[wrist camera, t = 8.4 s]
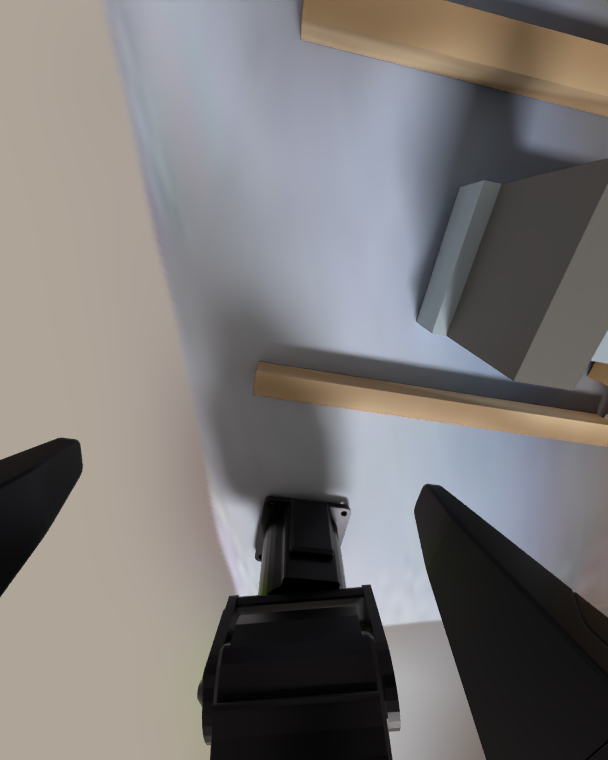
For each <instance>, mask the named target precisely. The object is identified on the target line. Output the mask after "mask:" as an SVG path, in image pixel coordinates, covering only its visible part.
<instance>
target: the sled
mask: <svg viewBox="0 0 608 760" xmlns="http://www.w3.org/2000/svg"><path fill="white" fill-rule="evenodd" d="M417 323H419V324H420V325H421V326H423V327H424V328H425V329H427V330H428V331H430V332H431V333H433V334H439V335H445V336H448V337H449V338H451V339H452V340H453V341H455V342H456V343H458V344H459V345H461V346H462V347H464V348H465V349H467V350H468V351H470V352H471V353H473V354H474V355H476V356H477V357H479V358H480V359H482V360H483V361H485V362H486V363H488V364H489V365H491V366H492V367H494V368H495V369H497V370H498V371H500V372H501V373H503V374H504V375H505V376H507V377H508V378H510V379H511V380H513V381H516V382H523V383H529V384H535V385H541V386H547V387H553V388H559V389H566V390H572V391H574V389H575V388H576V386H577V384H578V382H579V380H580V379H581V377H582V375H583V373H584V372H585V370H586V368H587V366H588V364H589V363H590V361H595V363H594V365H593V367H592V369H591V371H590V372H589V374H588V377H590V378H593V379H595V380H597V381H599V382H601V383H603V384H605V385H607V386H608V158H607V159H603V160H599V161H595V162H591V163H586V164H582V165H578V166H574V167H570V168H566V169H561V170H557V171H553V172H549V173H545V174H541V175H536V176H532V177H528V178H524V179H520V180H516V181H511V182H507V183H503V184H500V183H496V182H491V181H487V180H483V181H480V182H476V183H472V184H469V185H465V186H462V187H459V191H458V194H457V197H456V200H455V203H454V206H453V209H452V212H451V216H450V219H449V222H448V225H447V228H446V231H445V234H444V237H443V241H442V244H441V247H440V250H439V253H438V256H437V259H436V262H435V266H434V269H433V272H432V275H431V278H430V281H429V284H428V287H427V291H426V294H425V297H424V300H423V303H422V306H421V309H420V312H419V316H418V319H417Z"/></svg>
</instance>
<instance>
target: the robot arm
mask: <svg viewBox="0 0 608 760" xmlns="http://www.w3.org/2000/svg"><path fill="white" fill-rule="evenodd" d="M82 469H83V463H82V455H81V446H80V443H79V441H78V440H76V439H68V438H57V439H55V440H52V441H49V442H47V443H44V444H41V445H39V446H36V447H34V448H31V449H28V450H25V451H23V452H20V453H18V454H15V455H12V456H10V457H7V458H4V459H2V460H0V597H1V595H2V594H3V593H4V591H5V590H6V589H7V587H8V586H9V584H10V583H11V582H12V580H13V579H14V578H15V576H16V575H17V573H18V572H19V571H20V569H21V568H22V566H23V565H24V564H25V562H26V561H27V560H28V558H29V557H30V556H31V554H32V553H33V551H34V550H35V549H36V547H37V546H38V544H39V543H40V542H41V540H42V539H43V537H44V536H45V535H46V533H47V531H48V530H49V528H50V527H51V525H52V523H53V522H54V520H55V518H56V517H57V515H58V513H59V512H60V510H61V508H62V506H63V505H64V503H65V501H66V499H67V498H68V496H69V494H70V492H71V491H72V489H73V488H74V486H75V484H76V482H77V481H78V479H79V477H80V475H81V473H82ZM269 503H273V504H269ZM343 511H345V512H343ZM414 514H415V520H416V524H417V529H418V534H419V539H420V543H421V548H422V553H423V557H424V562H425V566H426V570H427V574H428V577H429V581H430V584H431V587H432V590H433V593H434V596H435V600H436V603H437V606H438V609H439V612H440V615H441V618H442V622H443V625H444V628H445V631H446V634H447V637H448V640H449V643H450V646H451V650H452V653H453V656H454V659H455V662H456V665H457V669H458V672H459V675H460V678H461V681H462V684H463V688H464V691H465V694H466V697H467V700H468V703H469V707H470V710H471V713H472V716H473V719H474V722H475V725H476V729H477V732H478V735H479V738H480V741H481V744H482V748H483V750H484V754H485V757H486V760H608V617H607V616H605V615H604V614H603V613H601V612H600V611H599V610H597V609H596V608H595V607H594V606H592V605H591V604H590V603H589V602H587V601H586V600H585V599H584V598H582V597H581V596H580V595H579V594H577V593H575V592H573V591H572V589H571V588H570V587H568V586H567V585H566V584H564V583H563V582H562V581H561V580H559V579H558V578H557V577H556V576H554V575H553V574H552V573H551V572H549V571H548V570H547V569H545V568H544V567H543V566H542V565H540V564H539V563H538V562H537V561H535V560H534V559H533V558H532V557H530V556H529V555H528V554H526V553H525V552H524V551H523V550H521V549H520V548H519V547H518V546H516V545H515V544H514V543H513V542H511V541H510V540H509V539H507V538H506V537H505V536H504V535H502V534H501V533H500V532H499V531H497V530H496V529H495V528H494V527H492V526H491V525H490V524H489V523H487V522H486V521H485V520H483V519H482V518H481V517H480V516H478V515H477V514H476V513H475V512H473V511H472V510H471V509H470V508H468V507H467V506H466V505H464V504H463V503H462V502H461V501H459V500H458V499H457V498H456V497H454V496H453V495H452V494H451V493H449V492H448V491H447V490H445V489H444V488H443V487H442V486H439V485H433V484H425V485H424V486H423V488H422V490H421V493H420V495H419V497H418V500H417V502H416V505H415V509H414ZM350 515H351V512H350V508H349V506H347V505H344V504H335V503H327V502H318V501H310V500H301V499H293V498H284V497H276V496H268V497H266V498H265V500H264V505H263V511H262V517H261V523H260V529H259V535H258V541H257V547H256V553H255V559H256V560H258V561H261V572H260V582H259V592H258V595H255V596H243V597H239V595H235V596H229V599H228V602H227V605H226V608H225V609H224V611H223V614H222V616H221V620H220V623H219V626H218V629H217V632H216V635H215V638H214V641H213V645H212V648H211V651H210V654H209V657H208V660H207V663H206V667H205V669H204V674H203V678H202V680H201V682H200V684H199V687H198V694H197V695H198V696H197V698H198V700H199V702H200V704H201V705H202V729H203V737H204V740H205V743H206V744H207V745H211V754H210V760H392V754H391V746H390V739H389V731H400V710H399V702H398V694H397V687H396V682H395V675H394V670H393V665H392V661H391V656H390V651H389V648H388V644H387V640H386V637H385V633H384V630H383V626H382V623H381V619H380V616H379V612H378V609H377V605H376V602H375V598H374V595H373V591H372V588H371V585H362V587H355V588H346V583H345V576H344V569H343V562H342V555H341V548H340V546H341V543H342V540H343V537H344V534H345V530H346V527H347V524H348V521H349V518H350Z"/></svg>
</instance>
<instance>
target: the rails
mask: <svg viewBox="0 0 608 760" xmlns="http://www.w3.org/2000/svg"><path fill="white" fill-rule="evenodd" d="M301 40H305V41H309V42H312V43H316V44H320V45H324V46H328V47H332V48H336V49H340V50H344V51H348V52H352V53H356V54H360V55H364V56H368V57H372V58H376V59H380V60H384V61H388V62H392V63H396V64H400V65H404V66H408V67H412V68H415V69H419V70H423V71H427V72H431V73H435V74H439V75H443V76H447V77H451V78H455V79H459V80H463V81H467V82H471V83H475V84H479V85H483V86H487V87H491V88H495V89H499V90H503V91H507V92H511V93H515V94H518V95H522V96H526V97H530V98H534V99H538V100H542V101H546V102H550V103H554V104H558V105H562V106H566V107H570V108H574V109H578V110H582V111H586V112H590V113H594V114H598V115H602V116H606V117H608V45H605V44H602V43H598V42H594V41H591V40H587V39H583V38H580V37H576V36H573V35H569V34H565V33H562V32H558V31H554V30H551V29H547V28H543V27H540V26H536V25H533V24H529V23H525V22H522V21H518V20H514V19H511V18H507V17H504V16H500V15H496V14H493V13H489V12H485V11H482V10H478V9H475V8H471V7H467V6H464V5H460V4H456V3H453V2H449V1H446V0H304V4H303V11H302V24H301ZM253 395H257V396H264V397H271V398H277V399H284V400H291V401H298V402H305V403H312V404H318V405H325V406H332V407H339V408H346V409H353V410H360V411H366V412H373V413H380V414H387V415H394V416H401V417H407V418H414V419H421V420H428V421H435V422H442V423H448V424H455V425H462V426H469V427H476V428H483V429H490V430H496V431H503V432H510V433H517V434H524V435H531V436H537V437H544V438H551V439H558V440H565V441H572V442H579V443H585V444H592V445H599V446H607V444H608V420H606V419H604V418H603V417H601V416H599V415H598V414H592V413H586V412H579V411H573V410H566V409H560V408H554V407H547V406H541V405H534V404H528V403H522V402H515V401H509V400H502V399H496V398H489V397H483V396H477V395H470V394H464V393H457V392H451V391H445V390H438V389H432V388H425V387H419V386H413V385H406V384H400V383H393V382H387V381H381V380H374V379H368V378H361V377H355V376H348V375H342V374H336V373H329V372H323V371H316V370H310V369H304V368H297V367H291V366H284V365H278V364H272V363H265V362H258V366H257V369H256V374H255V382H254V390H253Z"/></svg>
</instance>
